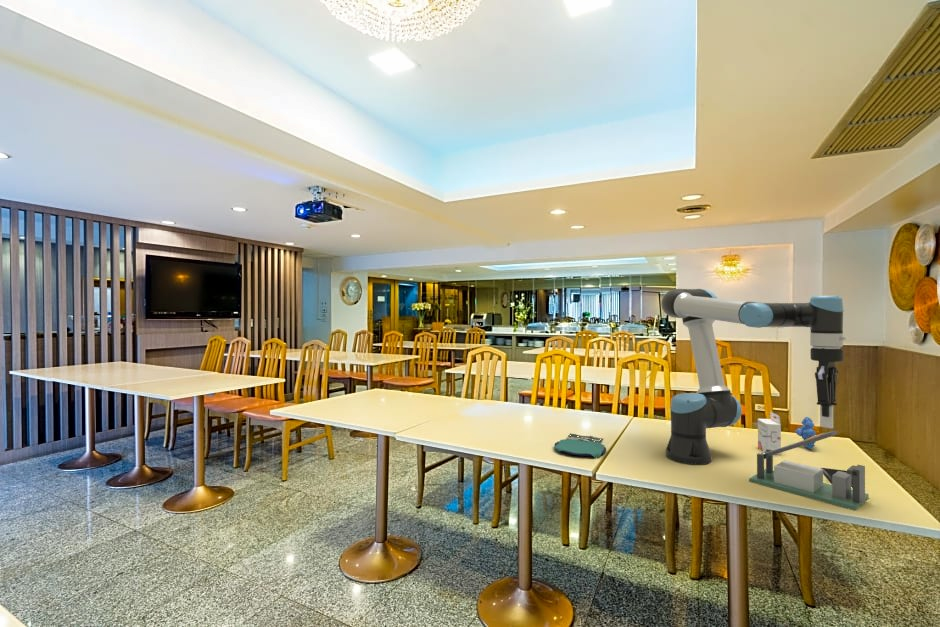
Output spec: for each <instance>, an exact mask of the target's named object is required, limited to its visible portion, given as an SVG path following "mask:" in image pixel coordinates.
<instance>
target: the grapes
mask: <svg viewBox="0 0 940 627" xmlns="http://www.w3.org/2000/svg"><path fill="white" fill-rule="evenodd" d="M813 422H814V420H812V419H811V417H809V416H808V417H807V416H806V417H804V418H803V419H802V421H801V424H802V426H801V427H798V428H796V430H795V434H796V435H797V436H799V437H801V438H802V440H806V439H808V438H810V437H812V436H815V435H817V432H816V431H815V429H814V427H815V426H816V425H815V423H813ZM815 443H816V442H813V443H810V444H806V445H804V447H806V448H807V449H808V450H812V449H813V448H815V446H816V445H815Z"/></svg>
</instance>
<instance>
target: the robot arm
mask: <svg viewBox="0 0 940 627" xmlns="http://www.w3.org/2000/svg"><path fill="white" fill-rule="evenodd" d="M660 302H661V304H660V306H661V309H662V310H663V313H664V314H666V316H669V317H671V318H675V319H682V324H683V326H684V327H686V328H687V330H688V334H689V340H690V344H691V350H692V355H693V360H694V364H695V365H694V366H695V371H696V375H697V380H698V381H697V382H698V386H699V389H698V390H697V391H696V392H682V393H677V394H675V395H673V396H672V398H671V402H670V406H669V407H670V408H669V409H670V437H669V441H668V443H667V446H666V448H665V456H666V457H667V458H668V459H670V460H672V461H675V462H678V463H683V464H688V465H708V464H710V463H712V453H711V450H710V448H709V447H710V446H709V444H708V441H707V429H711V428H713V429H714V428H715V429H716V428H726V427H729V426H733V425H735V424H737V423H738V421H739V420H741V419H740V418H742V405H741V403H740V401H739V400H738V399H737V398H736V396H734V395H732V392H731V390H730V388H729V387H728V386H726V385H725V380H724V376H723V371H722V366H721V361H720V357H719V352H718V351H719V350H718V347H717V346H718V345H717V342H716V337H715V336H716V335H715V331H714V327H713V324H714V323H715V321H720V322H726V323H727V322H728V323H731V324H732V323H733V324H741V325H745V327H749V328H757V329H761V328H771V327H772V328H776V327H777V328H790V327H793V328H797V327H798V328H801V327H802V328H810V329H809V330H810V341H809V342H810V343H809V344H810V346H811V348H810V360H812V361H814V362H815V361H816V362H818V365H817V366H816V370H815V371H816V372H815V373H814V377H815V384H816V395H817V396H816V397H817V398H816V399H817V402H816V405H817V406H818V405H819V406H820V413H819V414H820V415H819V416H820V423H819V424H820V425H819V426H820V428H825V429H830V430H831V429H834V406H837V405H838V403H836V397H837V383H838V374H839V370H838V369H837V367H836V364H835V363H841V362H844V349H842V347H844V341H845V340H846V337H845V336H843V335H844V330H843V327H844V325H843V324H844V322H843V321H844V312H845V311H844V305H843V298H842V297H841V296H840V295H834V294H833V295H832V294H831V295H813V296H811V297H810V298H809V302H758V301H747V300H736V299H728V298H718V296H717V295H716V294H715V293H714V292H713V291H711V290H709V289H702V288H674V289H671V290H669V291H667V292H666V293H665V294H664V295H663V296H662V299H661V301H660Z"/></svg>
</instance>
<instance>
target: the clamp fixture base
mask: <svg viewBox="0 0 940 627" xmlns="http://www.w3.org/2000/svg"><path fill="white" fill-rule="evenodd" d="M766 451H772V450H769V449H766ZM821 468H822V467H820V468H819V467H816V466H810V465H807V464H802V463H797V462H794V461H789V460H783V461H781V462H779V463H777V464H775V465H774V455H772V456H770V457H768V458H766V459H764V455H763V454H761V453H756V474H755V475H753V476H751V477H749V478H748V480H749V482H750V483H755V484H758V485H760V486H765V487H768V488H772V489H776V490H779V491H783V492H787V493H789V494H794V495H796V496H797V495H798V496H801V497H804V496H805V498H808V499H812V498H813V500H815V499H816V501H819V500H820V501H819V502H823V501H824V502H823V503H826V502H828V504H830V503H831V505H833V506H834V505H835V506H837V507H840V508H841V507H842V508H845V509H848V508H849V510H852V509H853V511H855V510H856V511H857V510H858V509H859V508H860V507H861V506H862V505H863V504H864V503H863V502H864V501H865V500H866V499H867V498H868V497H869V496H870V495H869V493H866V466H865V465H863V464H857V465H851V466H850V467H848V469H846V471H847V473H845V472H841V471H837V472H836V473H835V474H833V475H832V484H831V483H830V484H829V483H825V482H824V474H823V469H821ZM851 475H853V488H851ZM868 499H869V498H868ZM868 499H867V500H868ZM867 500H866V501H867ZM866 501H865V502H866ZM862 503H863V504H862ZM861 504H862V505H861ZM860 505H861V506H860ZM859 506H860V507H859ZM858 507H859V508H858Z"/></svg>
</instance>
